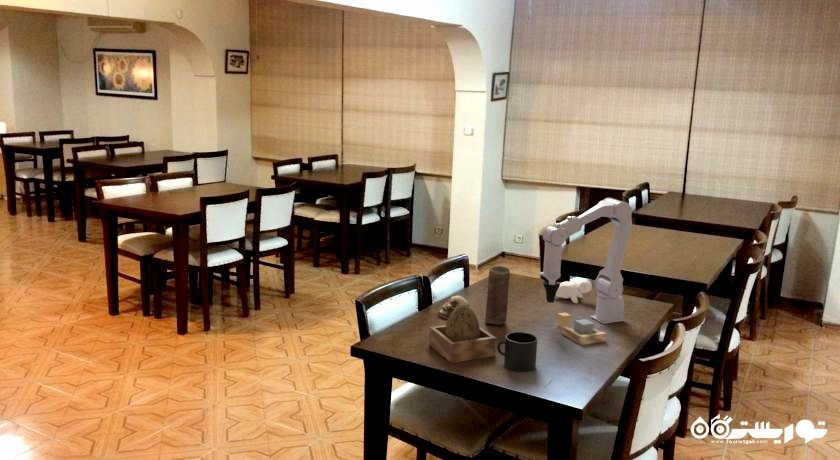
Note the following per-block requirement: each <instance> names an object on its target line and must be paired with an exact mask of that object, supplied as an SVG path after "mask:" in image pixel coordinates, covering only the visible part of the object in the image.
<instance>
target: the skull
mask: <svg viewBox="0 0 840 460" xmlns="http://www.w3.org/2000/svg"><path fill="white" fill-rule="evenodd" d="M460 305H467V306H469V307H470V304H469V302H468V300H466V298H465V297H463V296H462V295H454V296H453V295H452V296H451V298H450V299H447V301H446V302H445V303H444V304H443V305H442V308H441V309H440V310H439V311H438V316H439V317H441V318H442V319H443V320H444V319H445V320H448V318H449V316H450V315H451V313H452V312H453V311H454V309H455V308H457V307H458V306H460Z"/></svg>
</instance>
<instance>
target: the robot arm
mask: <svg viewBox="0 0 840 460" xmlns="http://www.w3.org/2000/svg"><path fill="white" fill-rule="evenodd" d="M632 213H633V208H632V207H631V205H630V204H629V203H628V202H626V201H622V200H619V199H615V198H613V197H606V198H604V199H603V200H600V201H598V203H597V204H596V205H594V206H593V207H591V208H589V209H588V210H587V211H585V212H583V213H582V214H580V215H578V216H575V215H572V216H570V215H569V216H567V217H566V219H564V220H562V221H560V222H557V223H555V225H554V226H553V225H550V226H547V227H546V228H545V229H544V231H543V233H542V234H541V236H542V240H543V241H544V254H543V255H544V257H543V269H542V270H543V271H540V272H539V276H541V277H542V278H543V282H542V284H543V287H544V290H545V297H546V301H547V303H550V304H551V303H552V304H553V303H555V295H556V292H557V290H558V288H559V287H560V284H561V283H558V280H559V279H560V278H561V265H562V264H561V263H562V249H563V248H562V247H563V245H564V244H565V242H566V240H567V239H568V238H569V237H571V236H573V235H575V234H577V233H579V232H580V231H582V228H583V226H585V225H587V224H589V223H591V222H593V221H595V220H597V219H599V218H601V217H603V218H605V217H606V218H608V219H610V221H611V222H612V224H613V225H614V229H613V233H612V237H611V240H610V241H611V242H610V245H609V249H608V253H607V256H606V261H605V265H604V268H602V269H600V271H599V272H598V275H597V277H596V279H595V280H594V283H593V286H594V287H593V288H594V289H595V290H596V294H597V295H596V296H597V297H596V308H595V314H594V315H593V314H592V315H590V316H589V317H590V318H591V319H593V320H595V321H597V322H599V323H601V324H604V325H605V324H611V323H618V322H625V319H624V311H625V300H624V298H623V296H622V294H623V292H624V286H623V282H624V278H623V276H622V274H621V269H622V265H623V261H624V256H625V253H626V249H627V246H628V242H629V239H630V235H631V230H632V226H633V221H632V220H633V218H632Z"/></svg>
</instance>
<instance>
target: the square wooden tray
mask: <svg viewBox="0 0 840 460" xmlns="http://www.w3.org/2000/svg"><path fill="white" fill-rule="evenodd" d="M479 327H480V334H479V338H478V339H472V340H465V341H458V342H452V341H451V340H450V339H449V338H447V337H446V335H445V328H446V324H445V325H437V326H430V327H429V342H428V343H429V344H428V345H429V346H430V347H431V348H432V349H433V350H435V351H436V352H437V353H438V354H439V355H441V356H442V357H443V358H444V357H445V358H444V359H446V360H447V361H448V362H450V364H452V363H458V362H464V361H470V360H476V359H477V360H478V359H485V358H491V357H495V356H496V349H497V346H496V345H497V344H496V343H497V337H496V336H494V335H493V334H491V333H490V332H488V331H487V330H485V328H482V326H479Z"/></svg>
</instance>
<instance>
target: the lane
mask: <svg viewBox="0 0 840 460" xmlns="http://www.w3.org/2000/svg"><path fill="white" fill-rule="evenodd" d="M570 328H571V327H570ZM570 328H568V327H566V326H561V327H560V334H562V335H564V336H565V337H567V338H569V339H570V340H571V341H574V342H576V344H580V345H581V346H584V345H589V344H596V343H597V344H598V343H603V342H606V340H607V339H606V337H607V333H606V332H604V331H600V330H598V329H596V328H594V330H593V333H591V334H585V335H581V334H579V333H577V332H575V331H574V330H572V329H573V328H572V329H570Z"/></svg>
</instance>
